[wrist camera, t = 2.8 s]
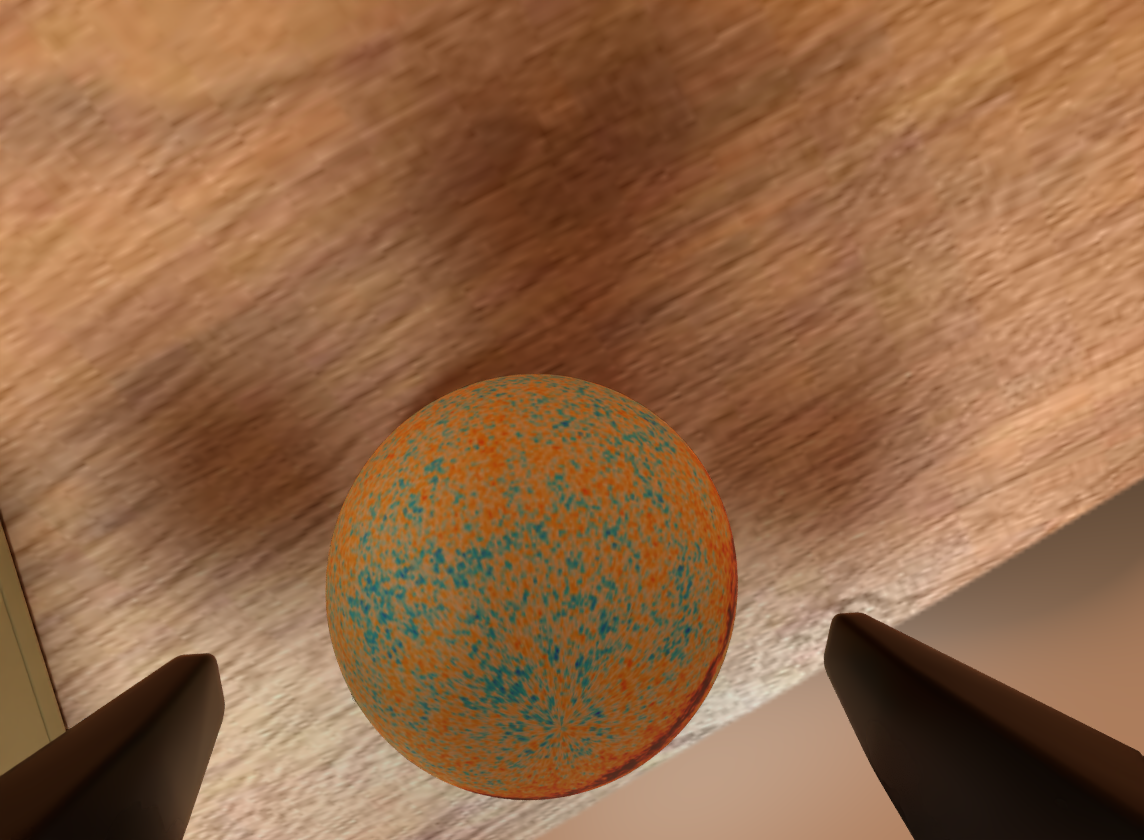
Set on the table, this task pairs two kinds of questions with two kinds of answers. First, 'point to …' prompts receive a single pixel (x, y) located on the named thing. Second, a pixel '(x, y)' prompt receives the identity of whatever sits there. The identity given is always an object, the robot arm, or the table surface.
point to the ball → (531, 587)
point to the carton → (22, 675)
